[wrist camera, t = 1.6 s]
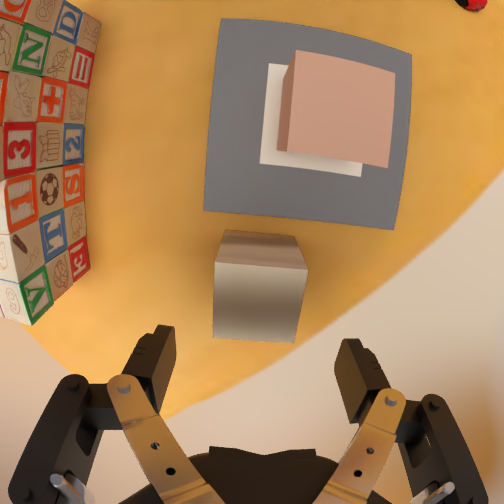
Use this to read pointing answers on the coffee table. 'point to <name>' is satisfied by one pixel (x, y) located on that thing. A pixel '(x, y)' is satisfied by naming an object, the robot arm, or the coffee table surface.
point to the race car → (473, 4)
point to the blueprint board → (267, 123)
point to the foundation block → (336, 109)
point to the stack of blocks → (42, 152)
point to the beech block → (258, 287)
